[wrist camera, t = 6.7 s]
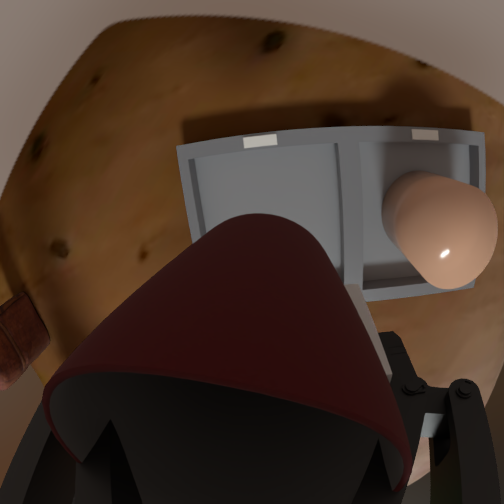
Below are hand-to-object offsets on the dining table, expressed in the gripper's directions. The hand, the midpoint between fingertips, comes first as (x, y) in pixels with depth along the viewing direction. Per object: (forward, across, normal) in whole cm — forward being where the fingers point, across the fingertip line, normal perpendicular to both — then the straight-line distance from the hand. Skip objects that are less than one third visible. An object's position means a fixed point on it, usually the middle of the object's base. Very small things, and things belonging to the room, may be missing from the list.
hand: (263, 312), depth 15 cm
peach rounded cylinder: (+16, +16, 0) cm, 22 cm away
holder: (+17, +8, 0) cm, 18 cm away
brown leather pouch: (+17, -44, -13) cm, 49 cm away
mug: (+1, 0, 0) cm, 1 cm away
